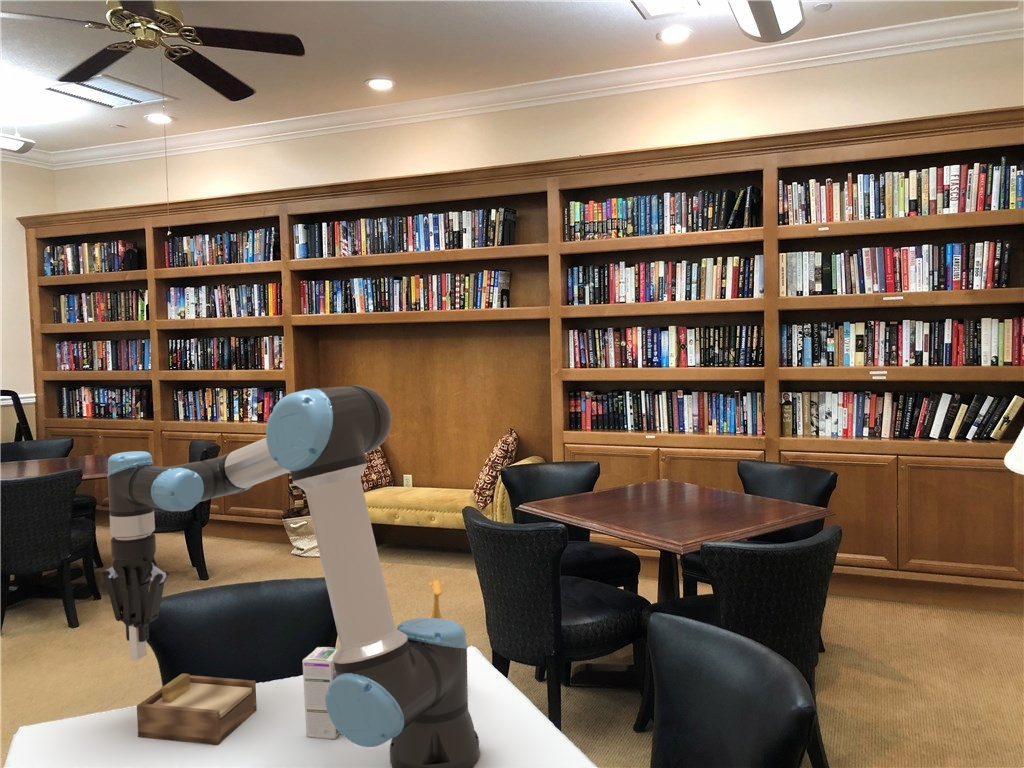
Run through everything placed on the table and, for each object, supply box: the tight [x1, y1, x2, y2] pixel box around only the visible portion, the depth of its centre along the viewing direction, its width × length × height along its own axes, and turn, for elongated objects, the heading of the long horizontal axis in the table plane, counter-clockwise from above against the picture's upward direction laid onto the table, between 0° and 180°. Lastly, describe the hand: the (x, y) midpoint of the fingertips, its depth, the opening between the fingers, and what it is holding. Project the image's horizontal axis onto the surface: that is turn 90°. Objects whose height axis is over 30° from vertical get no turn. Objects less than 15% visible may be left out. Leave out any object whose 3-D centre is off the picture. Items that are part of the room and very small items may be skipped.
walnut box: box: [136, 675, 258, 746], centre depth 145 cm, size 16×13×6 cm
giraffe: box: [427, 576, 445, 619], centre depth 155 cm, size 16×4×25 cm, turn 10°
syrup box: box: [302, 646, 341, 740], centre depth 141 cm, size 6×6×14 cm
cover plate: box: [153, 673, 252, 718], centre depth 145 cm, size 15×10×4 cm
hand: (138, 657), depth 147 cm, fingers closed
